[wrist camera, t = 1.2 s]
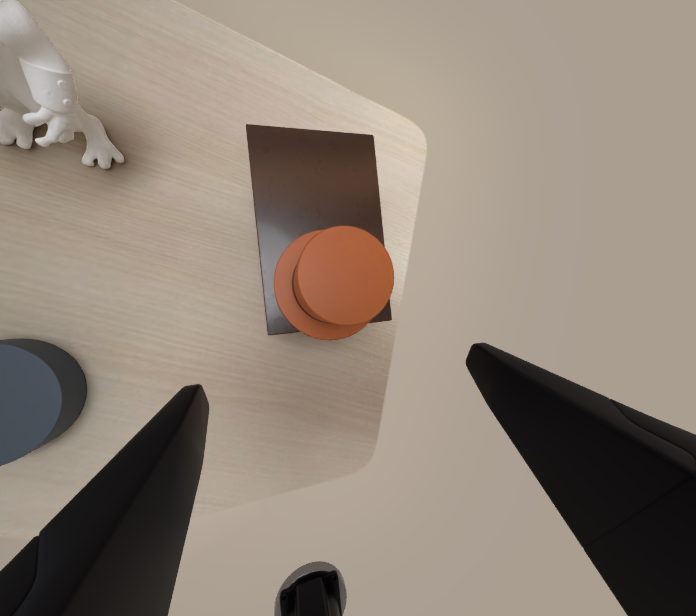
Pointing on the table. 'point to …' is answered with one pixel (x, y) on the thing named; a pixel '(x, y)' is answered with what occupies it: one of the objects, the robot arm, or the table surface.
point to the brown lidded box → (309, 195)
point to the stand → (36, 395)
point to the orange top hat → (333, 281)
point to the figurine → (42, 91)
